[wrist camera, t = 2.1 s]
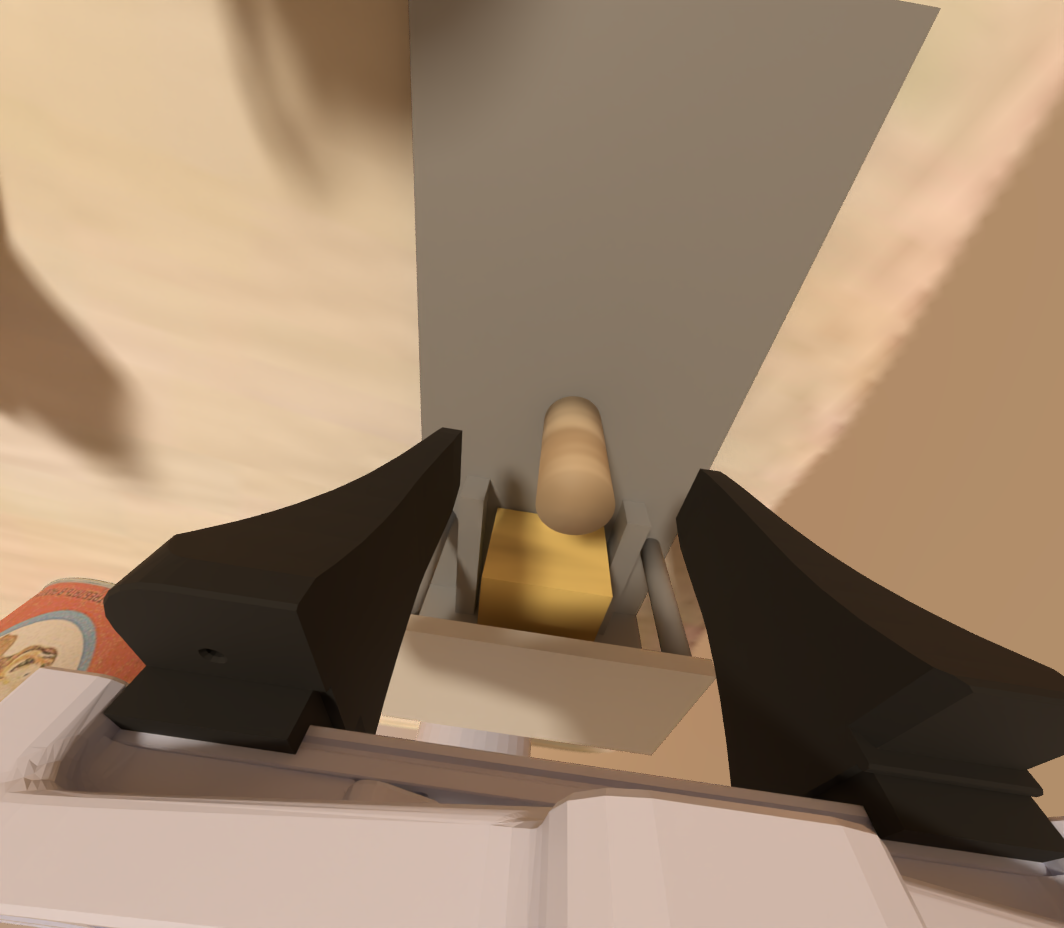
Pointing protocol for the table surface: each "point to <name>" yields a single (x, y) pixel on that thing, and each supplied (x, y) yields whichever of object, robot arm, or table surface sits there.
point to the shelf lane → (612, 297)
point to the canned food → (63, 635)
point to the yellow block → (556, 536)
